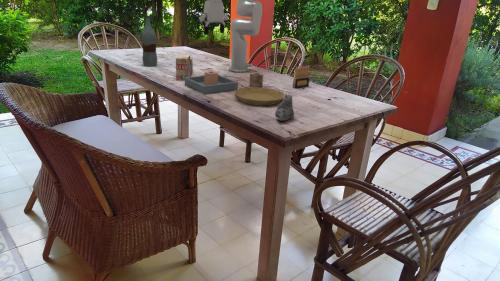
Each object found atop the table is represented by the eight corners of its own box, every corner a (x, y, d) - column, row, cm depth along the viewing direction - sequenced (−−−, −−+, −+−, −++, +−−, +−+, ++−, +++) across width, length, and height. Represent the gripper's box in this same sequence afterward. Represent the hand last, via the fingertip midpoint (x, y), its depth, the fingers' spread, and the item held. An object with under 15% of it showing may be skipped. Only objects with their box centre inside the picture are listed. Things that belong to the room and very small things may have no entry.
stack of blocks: (182, 71, 224) (182, 51, 219) (192, 72, 224) (192, 51, 220) (176, 80, 205) (175, 57, 200) (187, 80, 205) (187, 58, 200)
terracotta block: (212, 84, 197) (212, 71, 194) (217, 86, 193) (217, 72, 190) (204, 85, 194) (204, 71, 191) (209, 87, 190) (209, 73, 188)
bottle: (140, 64, 236) (137, 15, 224) (153, 63, 242) (150, 15, 230) (147, 67, 230) (144, 16, 218) (160, 66, 235) (158, 16, 224)
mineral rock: (279, 124, 147) (281, 100, 143) (262, 116, 155) (263, 93, 151) (302, 119, 155) (305, 96, 151) (284, 112, 162) (286, 89, 158)
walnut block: (256, 85, 203) (257, 72, 200) (262, 87, 199) (263, 74, 196) (249, 86, 200) (249, 73, 197) (255, 88, 196) (255, 75, 193)
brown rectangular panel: (294, 88, 201) (297, 66, 196) (292, 87, 202) (294, 65, 198) (308, 86, 207) (311, 65, 202) (306, 85, 208) (308, 64, 204)
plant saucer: (255, 90, 194) (255, 84, 193) (293, 100, 180) (294, 94, 179) (223, 98, 177) (223, 92, 175) (263, 110, 163) (263, 103, 161)
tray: (216, 81, 207) (216, 74, 205) (237, 89, 192) (238, 82, 191) (184, 85, 195) (184, 77, 194) (204, 94, 181) (204, 86, 179)
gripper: (224, -3, 194) (223, 31, 201) (195, -2, 184) (196, 33, 192) (232, -1, 189) (231, 33, 196) (203, -1, 179) (203, 35, 186)
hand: (214, 33), depth 194 cm, fingers open, 9 cm apart
